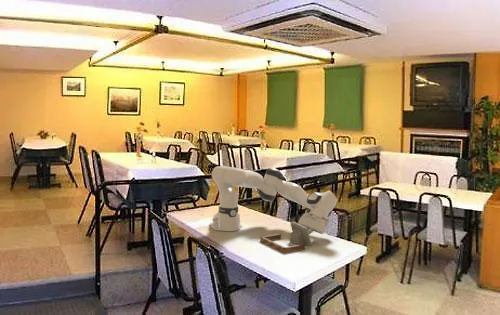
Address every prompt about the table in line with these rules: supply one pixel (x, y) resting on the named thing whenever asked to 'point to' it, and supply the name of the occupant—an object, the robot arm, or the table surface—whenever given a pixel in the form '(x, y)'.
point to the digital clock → (299, 234)
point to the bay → (283, 249)
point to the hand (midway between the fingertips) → (305, 235)
